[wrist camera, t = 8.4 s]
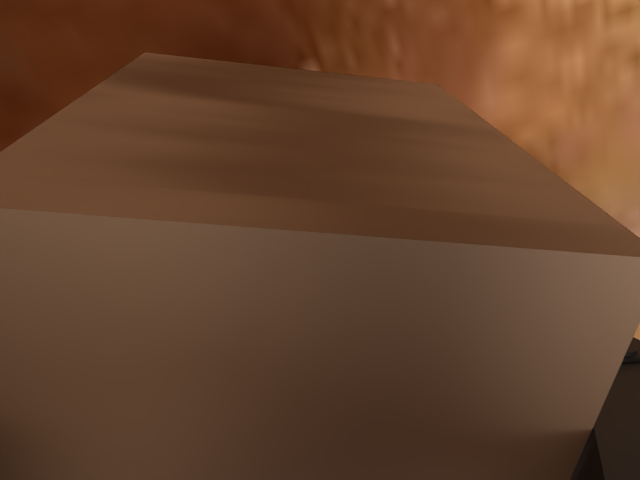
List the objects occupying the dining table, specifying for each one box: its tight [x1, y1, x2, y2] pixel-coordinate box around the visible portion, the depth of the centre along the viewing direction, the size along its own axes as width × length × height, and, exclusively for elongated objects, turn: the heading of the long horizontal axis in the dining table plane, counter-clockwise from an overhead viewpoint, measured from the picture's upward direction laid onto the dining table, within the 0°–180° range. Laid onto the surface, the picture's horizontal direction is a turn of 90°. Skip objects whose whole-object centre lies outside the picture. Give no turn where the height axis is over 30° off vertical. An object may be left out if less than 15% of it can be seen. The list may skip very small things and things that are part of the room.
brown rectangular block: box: [0, 52, 640, 480], centre depth 11 cm, size 7×7×9 cm
